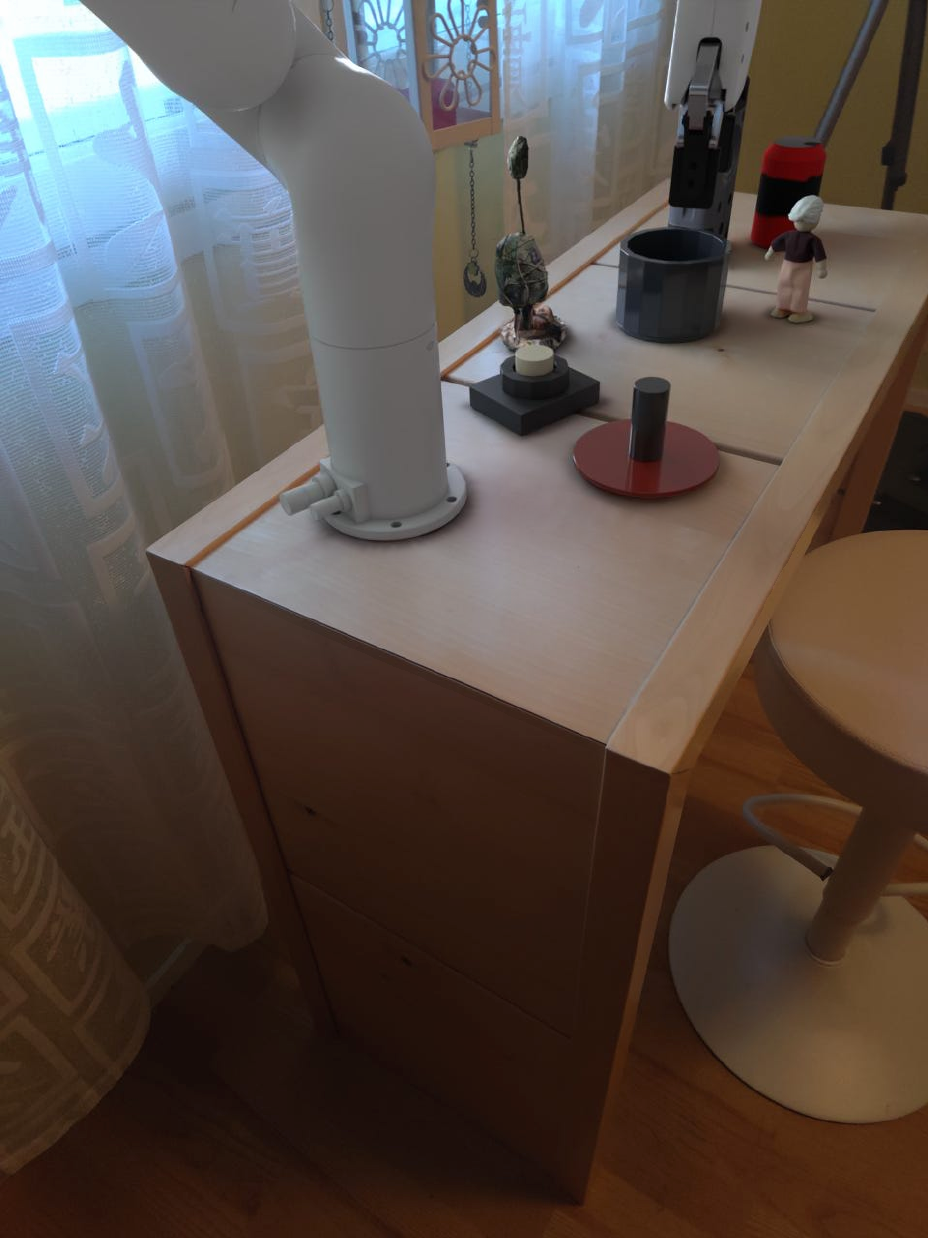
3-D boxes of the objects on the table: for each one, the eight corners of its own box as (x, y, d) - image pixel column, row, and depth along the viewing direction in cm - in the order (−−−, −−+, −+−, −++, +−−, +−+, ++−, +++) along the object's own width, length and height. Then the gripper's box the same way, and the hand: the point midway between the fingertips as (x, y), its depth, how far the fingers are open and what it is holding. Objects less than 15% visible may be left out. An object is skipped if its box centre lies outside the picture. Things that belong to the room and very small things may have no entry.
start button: (532, 381, 83) (532, 364, 82) (508, 369, 85) (507, 352, 84) (561, 370, 85) (561, 352, 84) (536, 358, 87) (536, 341, 86)
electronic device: (704, 270, 112) (728, 89, 99) (660, 263, 114) (677, 86, 101) (729, 247, 118) (754, 73, 105) (686, 241, 120) (706, 70, 107)
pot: (669, 352, 95) (678, 272, 89) (594, 320, 102) (598, 244, 96) (741, 321, 100) (753, 244, 94) (664, 293, 107) (672, 219, 101)
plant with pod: (472, 354, 97) (463, 153, 84) (520, 315, 104) (519, 125, 91) (539, 368, 93) (540, 161, 80) (583, 327, 101) (592, 131, 88)
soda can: (791, 254, 115) (811, 152, 107) (739, 242, 119) (754, 144, 111) (819, 238, 119) (840, 138, 111) (768, 227, 123) (784, 131, 115)
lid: (645, 522, 72) (654, 438, 67) (543, 461, 79) (544, 382, 74) (748, 467, 77) (764, 386, 72) (643, 415, 85) (650, 339, 80)
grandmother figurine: (827, 316, 100) (853, 196, 91) (812, 328, 98) (838, 206, 89) (763, 301, 104) (783, 185, 95) (747, 312, 101) (767, 194, 93)
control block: (521, 436, 83) (520, 397, 80) (469, 406, 88) (467, 368, 85) (599, 402, 87) (601, 364, 85) (546, 375, 92) (546, 338, 90)
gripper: (695, -102, 64) (668, 156, 76) (655, -87, 52) (629, 219, 63) (803, -105, 62) (759, 161, 74) (787, -90, 50) (737, 226, 61)
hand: (699, 187), depth 69 cm, fingers open, 9 cm apart
